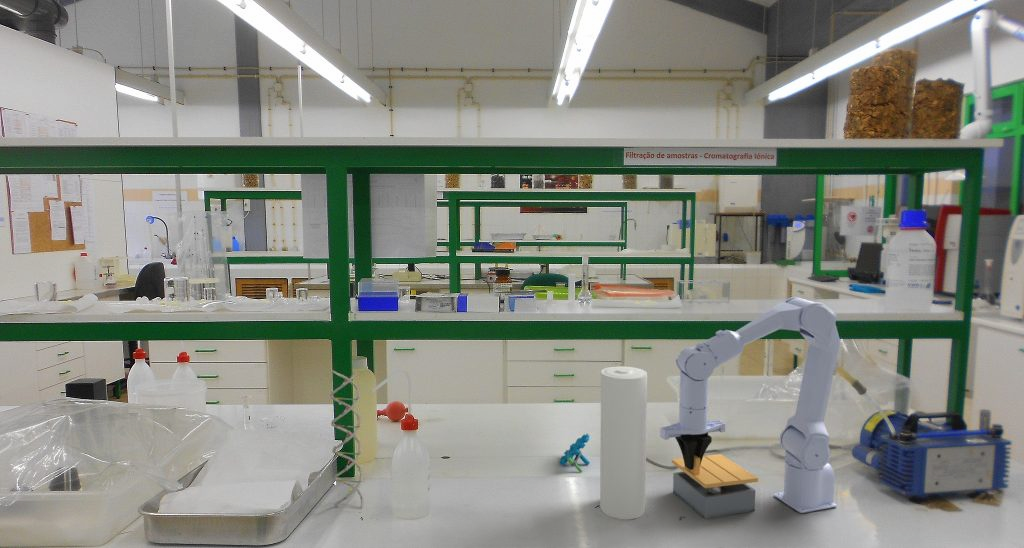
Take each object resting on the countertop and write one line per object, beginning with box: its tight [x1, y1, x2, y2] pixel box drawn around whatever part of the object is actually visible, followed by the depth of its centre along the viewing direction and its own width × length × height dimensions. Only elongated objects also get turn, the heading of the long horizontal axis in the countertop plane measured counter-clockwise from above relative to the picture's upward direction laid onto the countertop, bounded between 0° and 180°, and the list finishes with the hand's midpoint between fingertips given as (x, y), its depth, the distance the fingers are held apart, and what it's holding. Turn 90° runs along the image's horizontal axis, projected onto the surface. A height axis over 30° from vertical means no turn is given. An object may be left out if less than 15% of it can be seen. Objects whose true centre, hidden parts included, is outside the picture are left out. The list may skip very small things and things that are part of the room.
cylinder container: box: [599, 365, 648, 520], centre depth 120 cm, size 9×9×30 cm
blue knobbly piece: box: [558, 433, 591, 473], centre depth 142 cm, size 11×6×10 cm
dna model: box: [329, 369, 364, 509], centre depth 121 cm, size 7×6×30 cm
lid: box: [671, 453, 759, 488], centre depth 123 cm, size 13×13×5 cm
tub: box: [672, 471, 756, 520], centre depth 123 cm, size 12×12×4 cm
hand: (692, 467), depth 121 cm, fingers closed on lid
